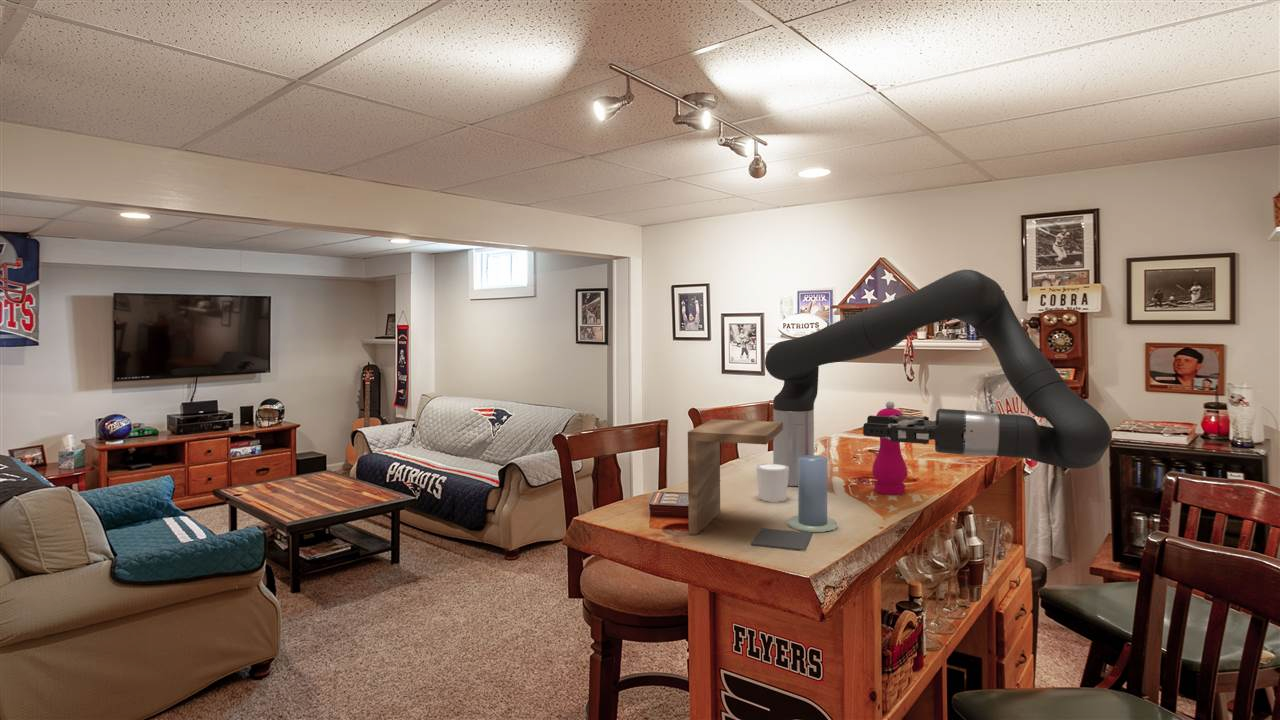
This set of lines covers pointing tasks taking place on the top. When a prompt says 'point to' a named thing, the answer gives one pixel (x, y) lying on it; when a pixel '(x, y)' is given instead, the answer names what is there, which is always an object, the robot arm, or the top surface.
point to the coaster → (796, 525)
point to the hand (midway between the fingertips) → (865, 425)
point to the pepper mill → (889, 461)
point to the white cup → (772, 482)
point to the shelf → (716, 462)
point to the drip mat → (782, 539)
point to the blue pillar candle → (812, 490)
